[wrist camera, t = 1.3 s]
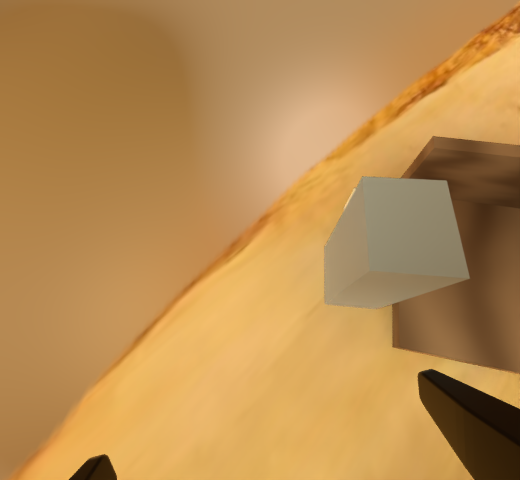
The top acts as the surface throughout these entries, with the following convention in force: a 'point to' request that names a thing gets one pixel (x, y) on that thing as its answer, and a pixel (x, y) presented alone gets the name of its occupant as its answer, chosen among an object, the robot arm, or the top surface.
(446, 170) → the wooden l-bracket
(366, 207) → the grey upright block
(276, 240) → the top surface
